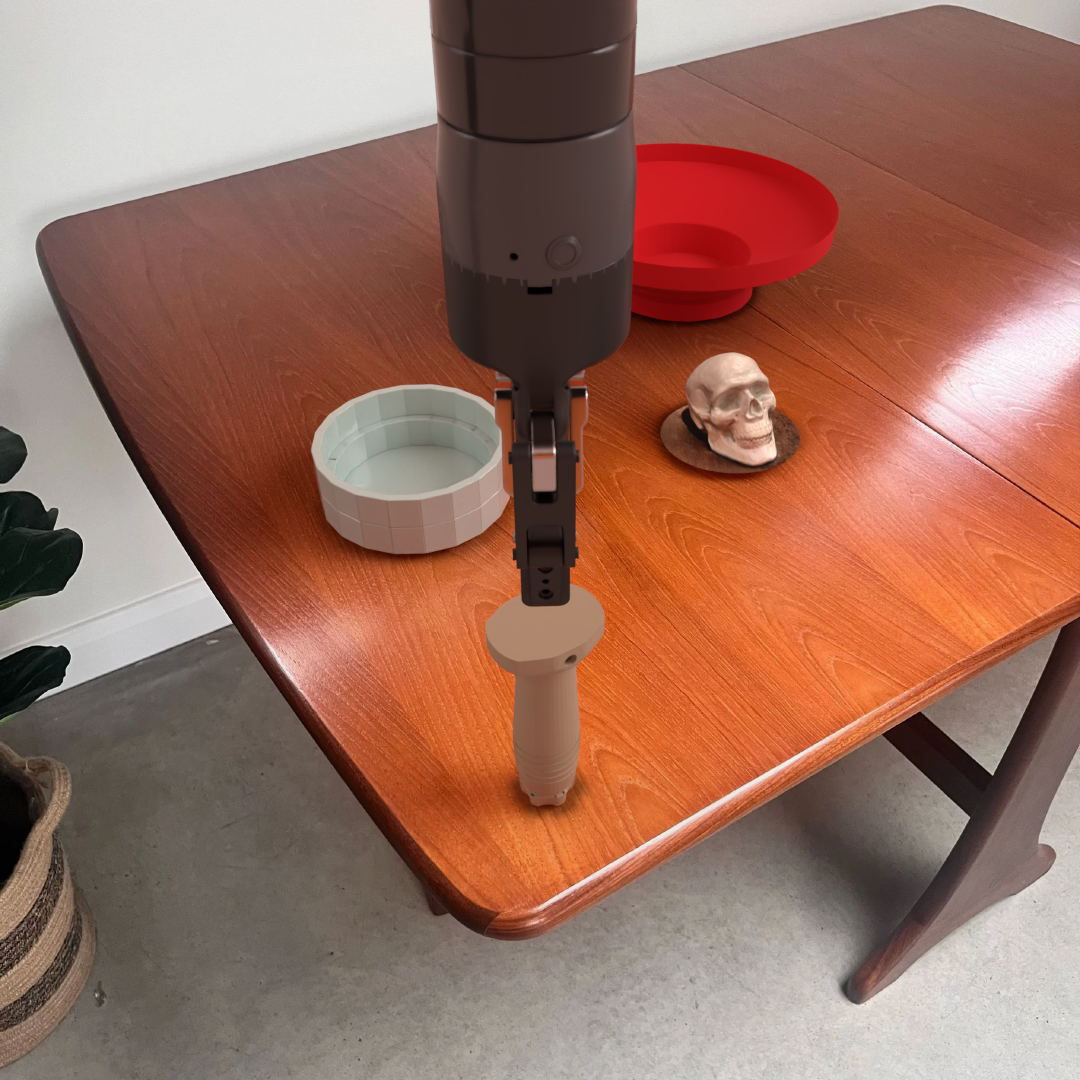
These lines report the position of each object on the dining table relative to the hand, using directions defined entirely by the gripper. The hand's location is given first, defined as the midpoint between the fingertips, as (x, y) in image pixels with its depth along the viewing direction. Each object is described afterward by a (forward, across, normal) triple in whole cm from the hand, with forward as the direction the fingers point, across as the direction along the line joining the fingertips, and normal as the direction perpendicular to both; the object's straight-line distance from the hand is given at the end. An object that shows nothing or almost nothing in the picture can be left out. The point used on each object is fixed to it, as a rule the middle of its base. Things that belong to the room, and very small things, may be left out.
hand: (543, 539), depth 51 cm
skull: (+21, -36, +17) cm, 45 cm away
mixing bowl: (+21, -29, -10) cm, 37 cm away
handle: (+21, 0, 0) cm, 21 cm away
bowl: (+21, -64, +16) cm, 69 cm away
